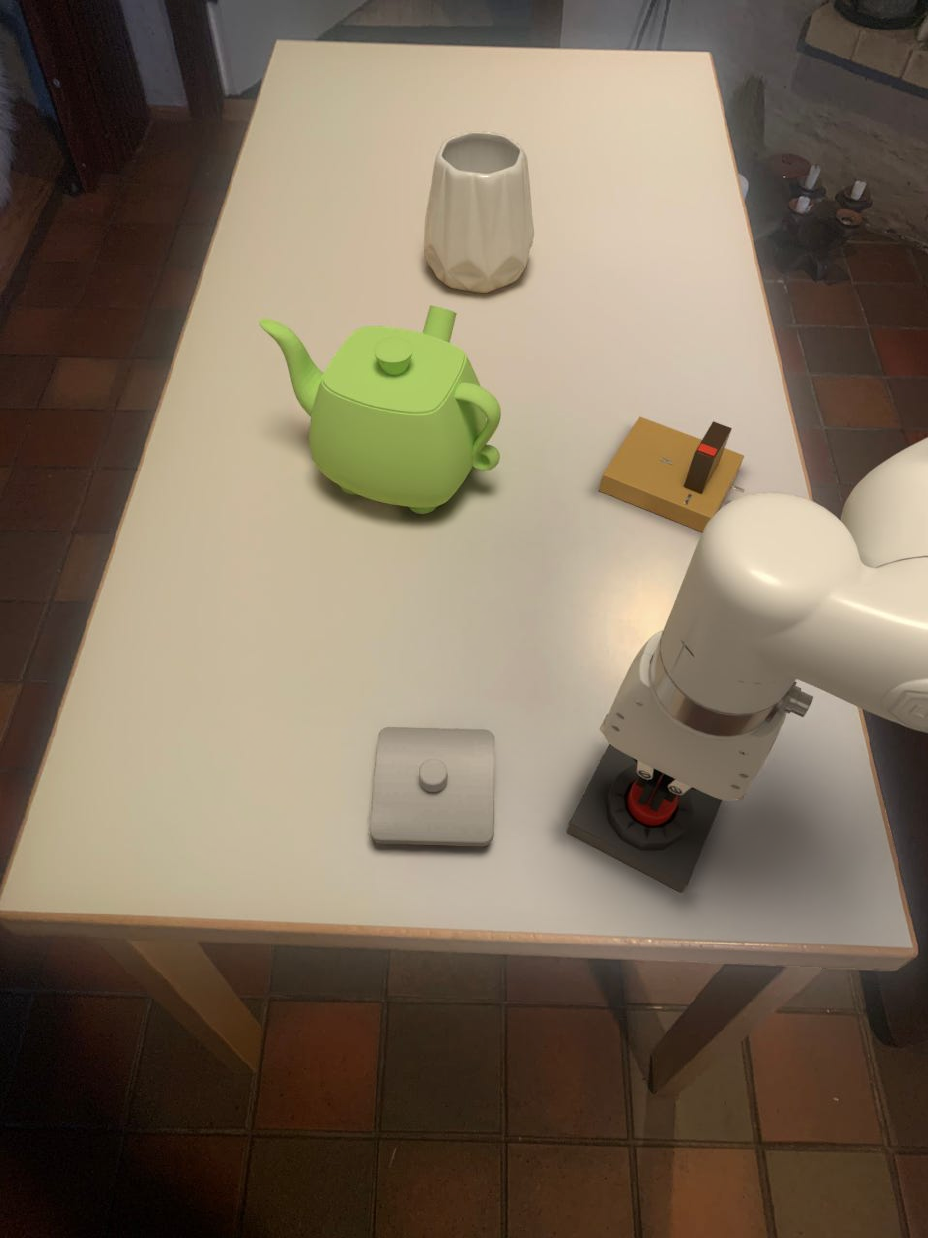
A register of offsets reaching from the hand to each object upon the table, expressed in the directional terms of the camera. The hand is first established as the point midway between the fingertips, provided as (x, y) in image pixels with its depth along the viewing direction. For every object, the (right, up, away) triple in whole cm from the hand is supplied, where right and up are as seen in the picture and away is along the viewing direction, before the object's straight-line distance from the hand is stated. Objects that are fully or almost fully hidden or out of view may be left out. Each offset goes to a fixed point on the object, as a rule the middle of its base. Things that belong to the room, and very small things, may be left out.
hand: (654, 791), depth 64 cm
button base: (0, -3, +5) cm, 6 cm away
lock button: (0, -1, +2) cm, 3 cm away
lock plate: (+8, +28, +26) cm, 39 cm away
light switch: (-17, -2, +6) cm, 18 cm away
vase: (-13, +59, +47) cm, 77 cm away
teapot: (-22, +32, +29) cm, 48 cm away
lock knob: (+10, +28, +23) cm, 38 cm away
